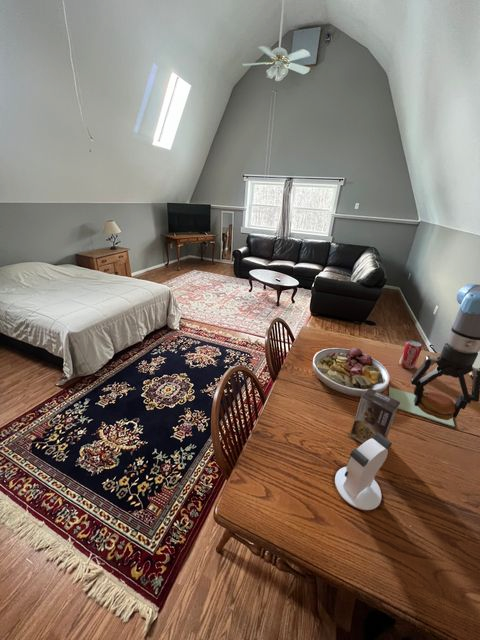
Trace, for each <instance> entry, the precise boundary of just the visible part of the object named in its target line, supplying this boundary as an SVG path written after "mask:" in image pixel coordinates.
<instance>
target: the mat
mask: <svg viewBox="0 0 480 640" xmlns="http://www.w3.org/2000/svg"><path fill="white" fill-rule="evenodd" d="M388 396H389V397H391V398H393V399H395V400H397V401H399V402H400V404H399V407H398V409H397V410H400V411H403V412H406V413H409V414H412V415H415V416H417V417H421V418H423V419H427V420H430V421H433V422H436V423H439V424H443V425H445V426H448V427H451V428H455V427H456V425H455V421H454V417H452V418H451V419H450V420H443V419H439V418H436V417H434V416H432V415H429V414H426V413H425V412H423V411H422V410H421V409H420V408H419V407H418V406H415V405H414V399H415V396H416V395H414V393H412V392H408V391H406V390H402V389H398V388H395V387H391V386H389V387H388Z"/></svg>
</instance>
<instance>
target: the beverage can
mask: <svg viewBox="0 0 480 640" xmlns="http://www.w3.org/2000/svg"><path fill="white" fill-rule="evenodd" d="M422 348H423V347H422V343H420V342H419V341H416V340H408V341H407V342H406V343H405V345H404V348H403V350H402V353H401V355H400V359H399V361H398V363H399V365H400V366H401V367H403V368H405V369H414V368H415V367H416V365H417V362H418V359H419V356H420V354H421V352H422Z"/></svg>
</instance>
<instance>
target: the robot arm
mask: <svg viewBox="0 0 480 640" xmlns="http://www.w3.org/2000/svg"><path fill="white" fill-rule="evenodd" d="M456 301H457V303H458V304H459V306H458V310H457V313H456V316H455V319H454V321H453V323H452V326H451V328H450V331H449V333H448V335H447V338H446V339H445V343H444V345H443V347H442V350H441V352H440V354H439V356H438V357H437V358H435V357H431V356H430V355H425V358H424V361H423V363H422V364H421V365H420V366H419V367H418V369H417V370H416V371H415V372H414V373H413V375H412V376H411V377H410V383H411V385H412V386H415V387H414V389H413V394H414V395H416V396H415V399H414V405H415V406H418V403H419V401H420V399H421V396H422V394H423V392H424V391H425V389H424V387H425V386H427V385H428V384H430V383H431V382H433V381H435V380H436V379H438V378H439V377H442V376H447V377H452V378H455V379H458V382H459V385H460V389H461V393H462V395H461V394H459V395H458V397H457V399H456V400H455V402H454V404H455V413H453V417H452V418H453V419H457V417H458V415H459V413H460V411H461V410H465V409H466V408H467V406H468V404H470V403H472V402H474V403H478V402H479V401H480V367H474V364H475V362H476V360H477V358H478V356H479V353H480V284H476V283H469V284H465V285H464V286H462V287H461V288H460V289H459V290H458V292H457V293H456ZM434 364H437V366H436V367H434V369H432V370H431V371H430V372H428V373H427V371H428V370H429V369H430V367H432V366H433V365H434ZM470 373H471V374H472V385H471V393H469V390H468V385H467V383H466V379H465V376H466V375H468V374H470Z"/></svg>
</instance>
